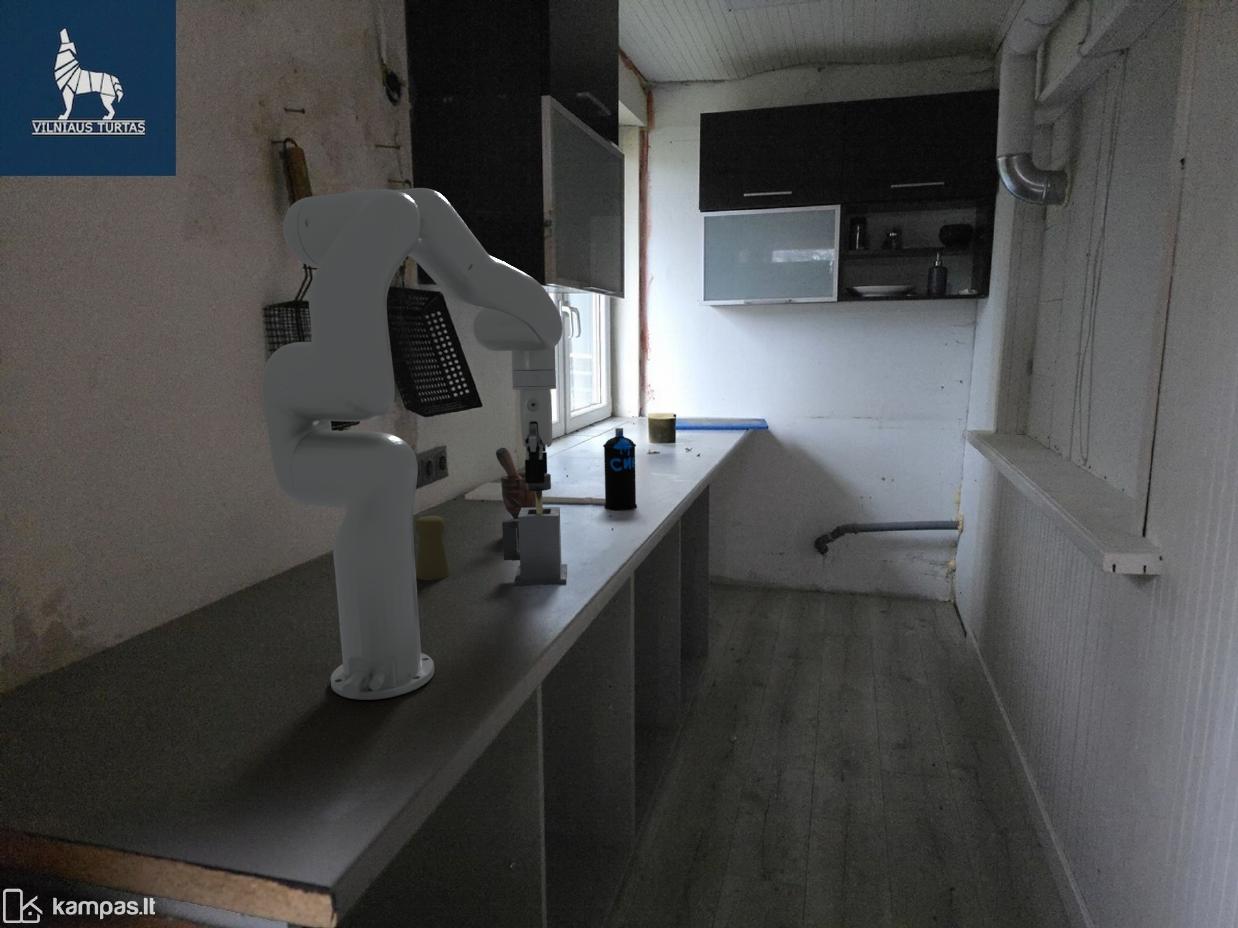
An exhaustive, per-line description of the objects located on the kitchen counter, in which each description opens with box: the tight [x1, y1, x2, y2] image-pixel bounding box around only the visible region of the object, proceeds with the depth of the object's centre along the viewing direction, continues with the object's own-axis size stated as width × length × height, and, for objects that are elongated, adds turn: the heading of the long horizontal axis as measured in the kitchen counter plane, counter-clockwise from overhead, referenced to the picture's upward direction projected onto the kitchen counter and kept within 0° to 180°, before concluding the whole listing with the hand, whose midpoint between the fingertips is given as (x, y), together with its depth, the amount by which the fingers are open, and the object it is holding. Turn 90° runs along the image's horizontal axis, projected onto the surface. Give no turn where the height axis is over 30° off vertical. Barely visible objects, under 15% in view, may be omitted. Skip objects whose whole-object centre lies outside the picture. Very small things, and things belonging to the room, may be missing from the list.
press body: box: [501, 506, 568, 586], centre depth 136 cm, size 9×11×12 cm
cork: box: [415, 515, 451, 581], centre depth 138 cm, size 6×6×11 cm
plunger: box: [526, 472, 552, 514], centre depth 135 cm, size 4×4×15 cm
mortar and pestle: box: [495, 447, 536, 538], centre depth 165 cm, size 12×9×20 cm
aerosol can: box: [602, 427, 638, 511], centre depth 190 cm, size 8×8×20 cm
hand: (536, 478), depth 134 cm, fingers open, 9 cm apart
